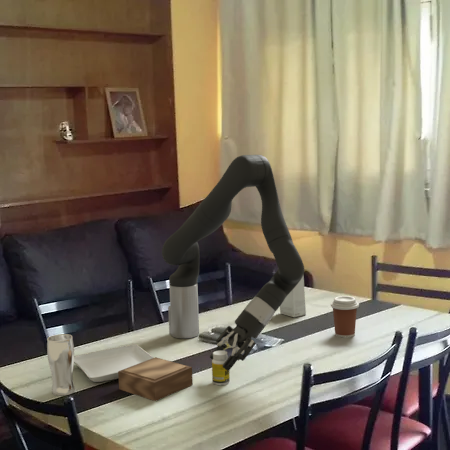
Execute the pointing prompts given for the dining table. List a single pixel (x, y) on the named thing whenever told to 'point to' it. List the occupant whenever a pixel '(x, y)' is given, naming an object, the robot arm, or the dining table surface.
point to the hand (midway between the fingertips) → (218, 364)
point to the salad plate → (110, 361)
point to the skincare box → (295, 301)
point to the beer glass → (61, 363)
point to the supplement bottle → (220, 368)
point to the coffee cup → (344, 315)
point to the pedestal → (155, 378)
